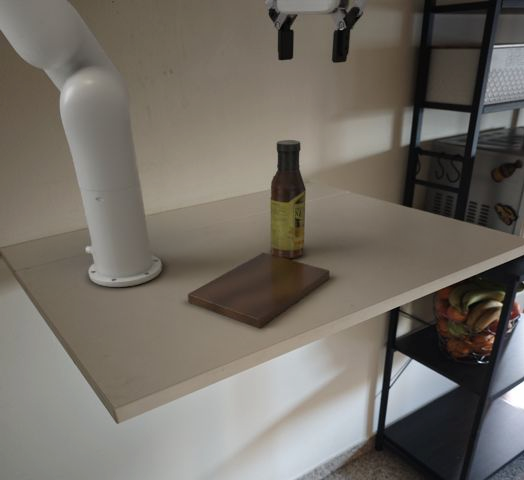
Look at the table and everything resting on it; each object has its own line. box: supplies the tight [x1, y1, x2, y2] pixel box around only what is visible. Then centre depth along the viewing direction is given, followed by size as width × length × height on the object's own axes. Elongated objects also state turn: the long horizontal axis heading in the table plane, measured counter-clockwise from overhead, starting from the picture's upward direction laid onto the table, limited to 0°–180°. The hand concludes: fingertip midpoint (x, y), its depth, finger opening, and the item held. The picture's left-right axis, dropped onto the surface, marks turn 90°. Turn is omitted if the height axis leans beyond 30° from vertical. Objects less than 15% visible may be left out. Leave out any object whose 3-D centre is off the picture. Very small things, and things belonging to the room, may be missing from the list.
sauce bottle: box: [270, 139, 307, 260], centre depth 89 cm, size 7×6×20 cm
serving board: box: [187, 252, 331, 329], centre depth 81 cm, size 14×20×2 cm
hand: (311, 60), depth 76 cm, fingers open, 9 cm apart
